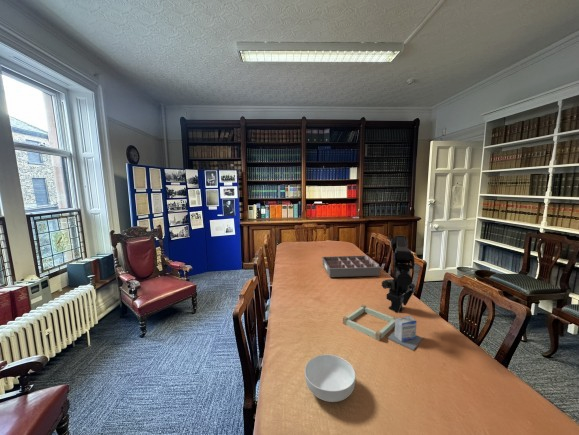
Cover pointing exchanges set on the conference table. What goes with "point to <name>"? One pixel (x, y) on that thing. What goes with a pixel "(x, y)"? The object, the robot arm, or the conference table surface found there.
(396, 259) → the robot arm
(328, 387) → the cereal bowl
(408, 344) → the slate mat
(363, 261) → the organizer tray
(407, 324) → the medicine box
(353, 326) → the pale green square frame
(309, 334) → the conference table surface
